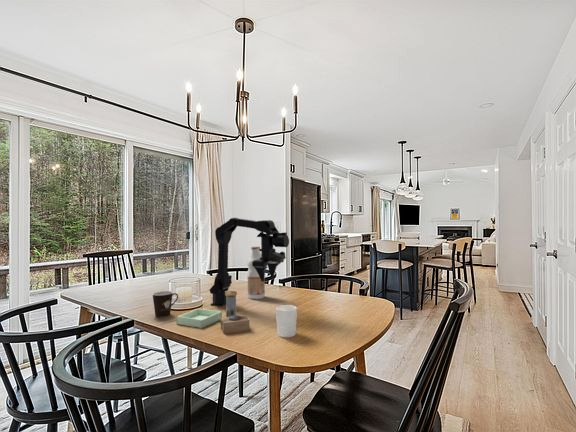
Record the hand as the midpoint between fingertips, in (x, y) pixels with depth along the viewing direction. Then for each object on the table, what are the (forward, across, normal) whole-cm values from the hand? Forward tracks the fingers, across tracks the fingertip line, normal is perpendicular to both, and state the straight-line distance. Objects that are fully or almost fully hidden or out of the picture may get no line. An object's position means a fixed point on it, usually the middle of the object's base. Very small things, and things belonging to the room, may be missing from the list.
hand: (267, 279), depth 157 cm
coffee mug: (+15, -24, +40) cm, 49 cm away
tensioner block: (+15, -28, -1) cm, 32 cm away
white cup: (+15, -26, -22) cm, 37 cm away
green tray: (+15, -26, +19) cm, 35 cm away
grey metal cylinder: (+15, -23, +5) cm, 28 cm away
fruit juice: (+15, +20, +18) cm, 31 cm away
